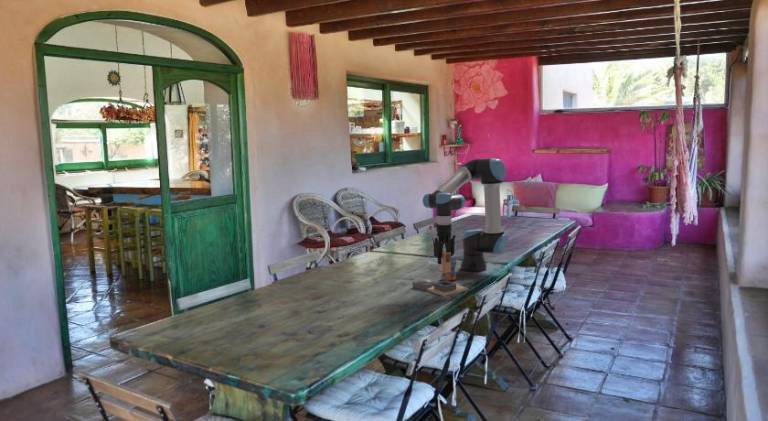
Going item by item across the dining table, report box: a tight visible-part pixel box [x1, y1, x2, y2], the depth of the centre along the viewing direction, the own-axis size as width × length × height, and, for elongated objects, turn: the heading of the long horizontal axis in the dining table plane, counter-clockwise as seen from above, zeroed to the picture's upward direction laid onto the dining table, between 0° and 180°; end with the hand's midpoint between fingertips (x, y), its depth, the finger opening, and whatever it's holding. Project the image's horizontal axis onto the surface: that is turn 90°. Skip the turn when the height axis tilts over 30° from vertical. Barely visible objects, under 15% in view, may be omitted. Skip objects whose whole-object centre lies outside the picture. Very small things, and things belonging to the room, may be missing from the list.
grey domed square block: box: [411, 277, 440, 292], centre depth 300 cm, size 10×10×4 cm
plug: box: [437, 250, 452, 273], centre depth 288 cm, size 4×6×10 cm
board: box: [427, 280, 469, 297], centre depth 293 cm, size 16×16×4 cm
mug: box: [440, 258, 458, 282], centre depth 314 cm, size 12×9×11 cm
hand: (444, 269), depth 289 cm, fingers closed on plug, 4 cm apart
